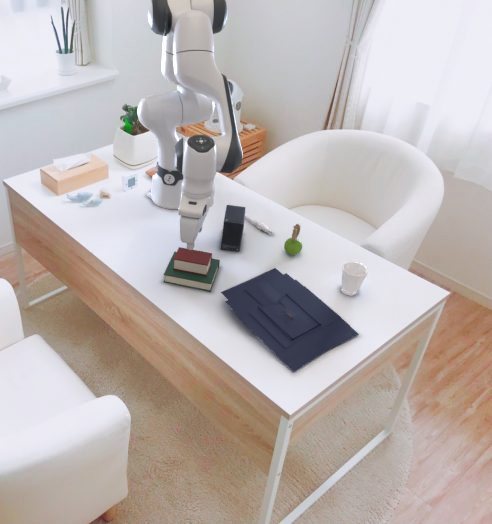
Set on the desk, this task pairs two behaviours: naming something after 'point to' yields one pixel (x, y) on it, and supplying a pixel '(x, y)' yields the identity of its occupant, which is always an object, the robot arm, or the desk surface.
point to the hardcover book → (191, 276)
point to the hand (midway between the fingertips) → (194, 239)
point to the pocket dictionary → (192, 261)
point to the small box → (233, 228)
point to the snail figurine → (293, 242)
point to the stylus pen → (259, 225)
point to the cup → (352, 277)
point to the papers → (288, 317)
